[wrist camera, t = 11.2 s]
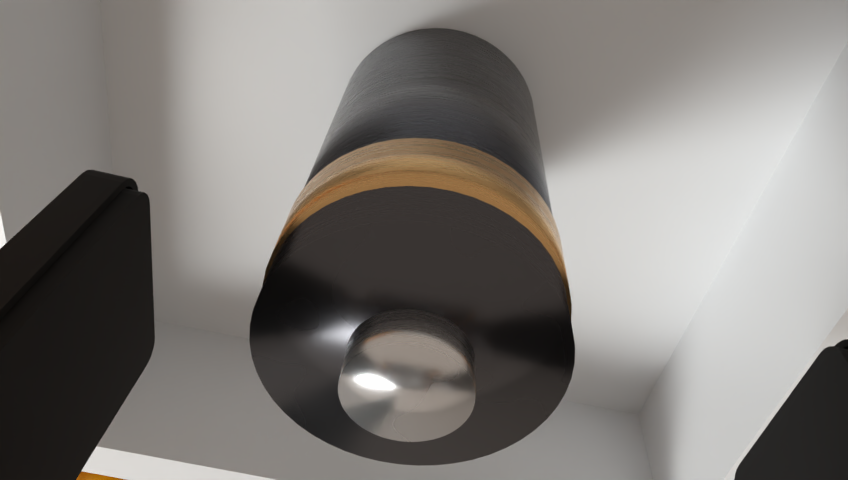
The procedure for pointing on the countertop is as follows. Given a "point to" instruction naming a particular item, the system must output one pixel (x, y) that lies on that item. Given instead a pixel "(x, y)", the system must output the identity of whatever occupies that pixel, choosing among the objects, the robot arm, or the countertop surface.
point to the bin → (568, 191)
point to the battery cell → (421, 264)
